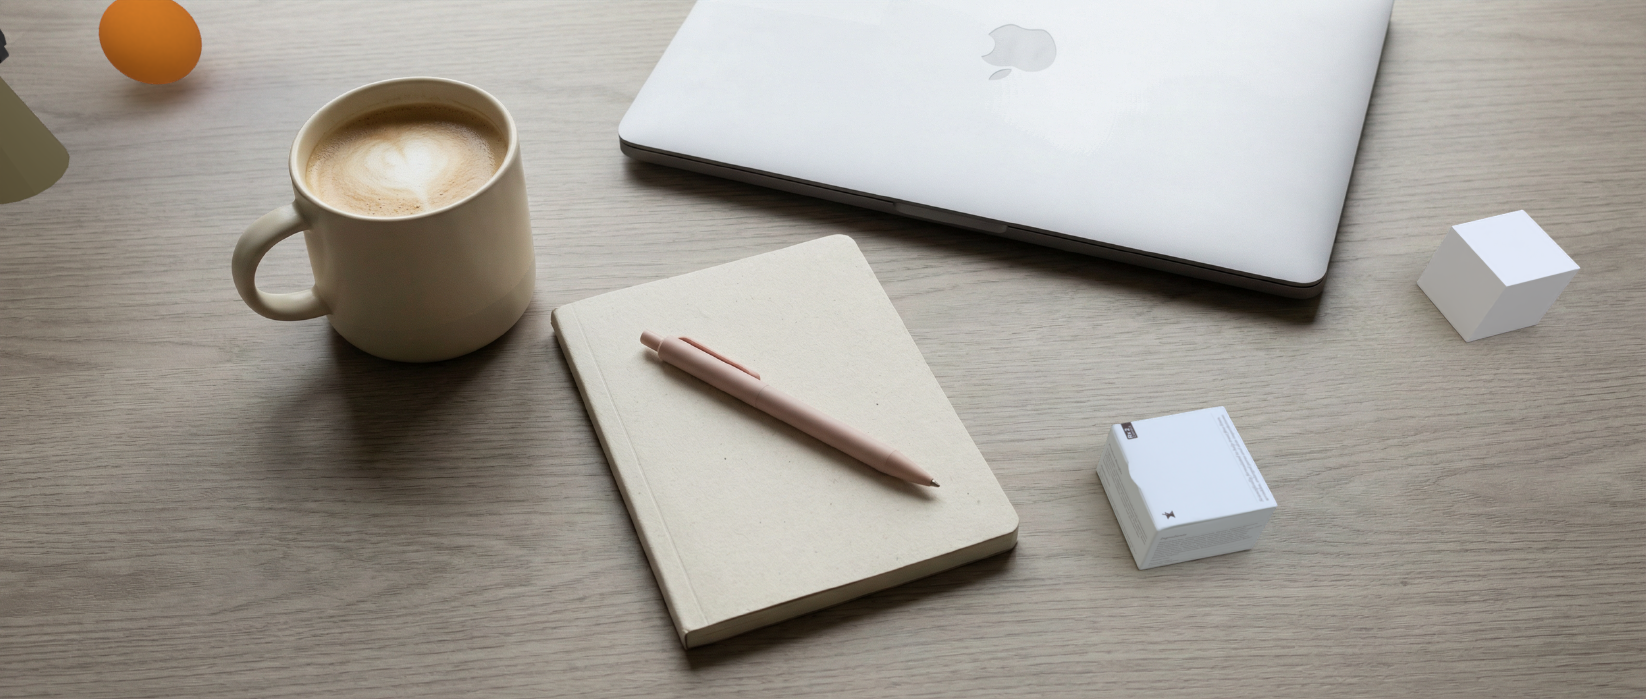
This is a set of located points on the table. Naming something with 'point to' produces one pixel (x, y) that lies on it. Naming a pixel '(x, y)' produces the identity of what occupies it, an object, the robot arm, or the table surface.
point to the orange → (150, 40)
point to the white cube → (1496, 275)
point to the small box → (1184, 487)
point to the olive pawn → (26, 151)
